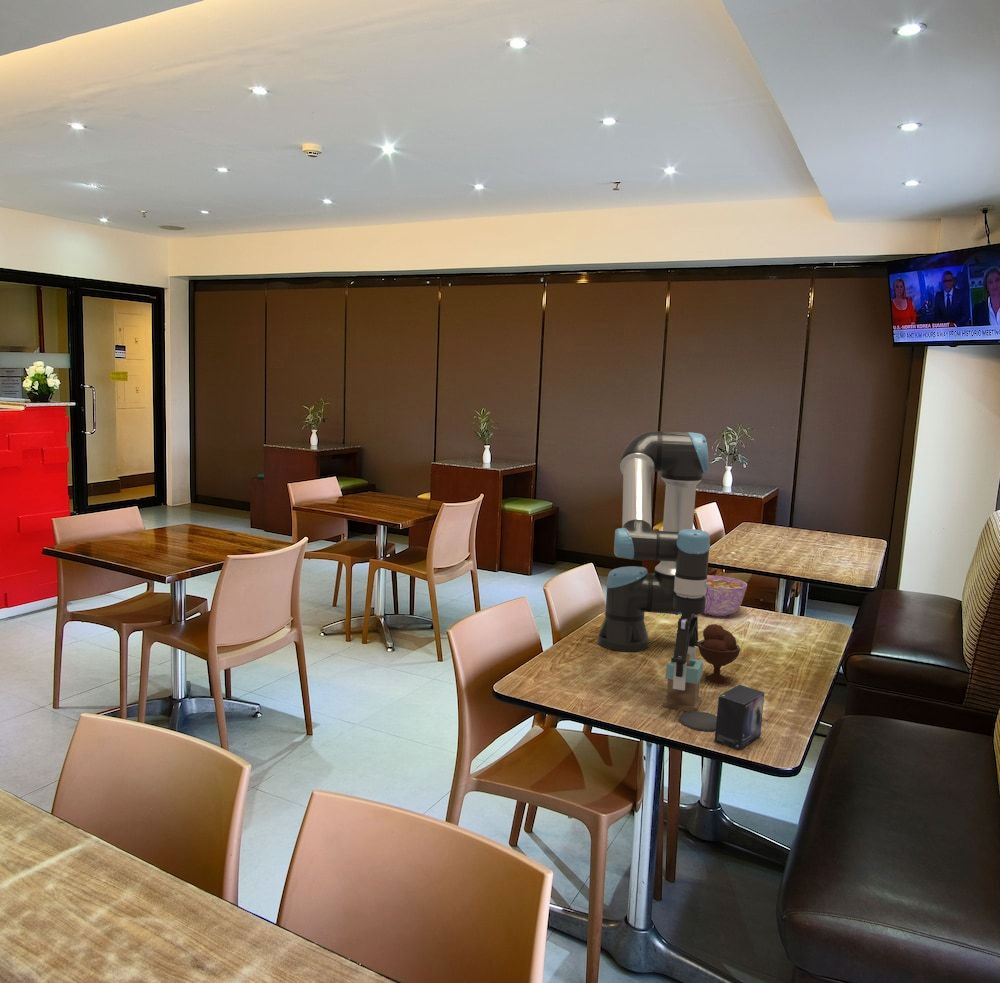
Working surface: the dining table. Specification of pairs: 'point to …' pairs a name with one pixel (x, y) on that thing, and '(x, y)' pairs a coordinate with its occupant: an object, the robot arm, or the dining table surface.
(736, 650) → the ice cream bowl
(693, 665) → the c link
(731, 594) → the bowl of food
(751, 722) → the small box
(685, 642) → the robot arm
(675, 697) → the stand
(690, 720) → the coaster
